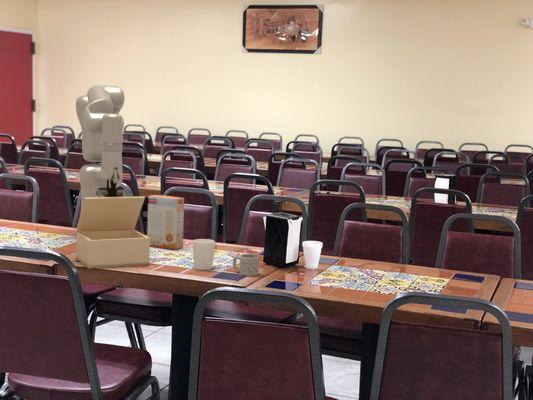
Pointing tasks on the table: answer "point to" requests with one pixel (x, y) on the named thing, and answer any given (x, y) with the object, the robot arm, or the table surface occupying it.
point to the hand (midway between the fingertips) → (111, 198)
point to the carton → (112, 248)
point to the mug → (247, 264)
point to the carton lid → (110, 212)
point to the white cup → (203, 254)
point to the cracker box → (165, 221)
